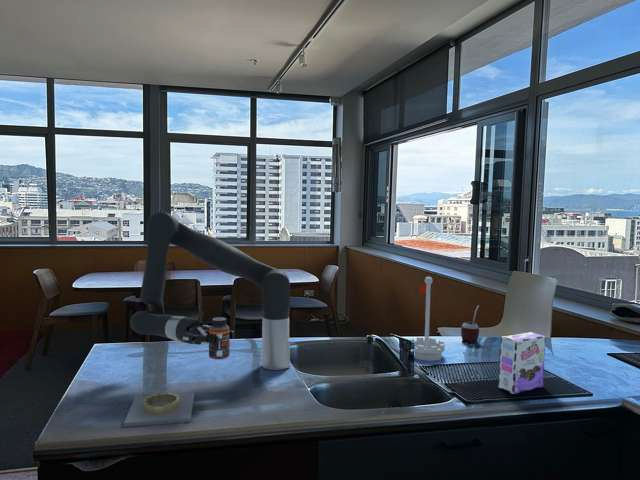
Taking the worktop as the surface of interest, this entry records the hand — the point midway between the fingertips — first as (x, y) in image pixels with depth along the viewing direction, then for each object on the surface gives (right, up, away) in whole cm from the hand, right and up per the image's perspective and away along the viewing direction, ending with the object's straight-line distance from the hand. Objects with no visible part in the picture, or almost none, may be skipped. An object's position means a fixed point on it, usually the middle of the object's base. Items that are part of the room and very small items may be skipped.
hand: (225, 337), depth 134 cm
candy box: (+90, -18, +11) cm, 92 cm away
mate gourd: (+90, -14, +60) cm, 109 cm away
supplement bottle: (-2, -6, +2) cm, 7 cm away
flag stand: (+67, -15, +41) cm, 80 cm away
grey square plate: (-15, -18, -9) cm, 25 cm away
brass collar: (-15, -18, -9) cm, 25 cm away
